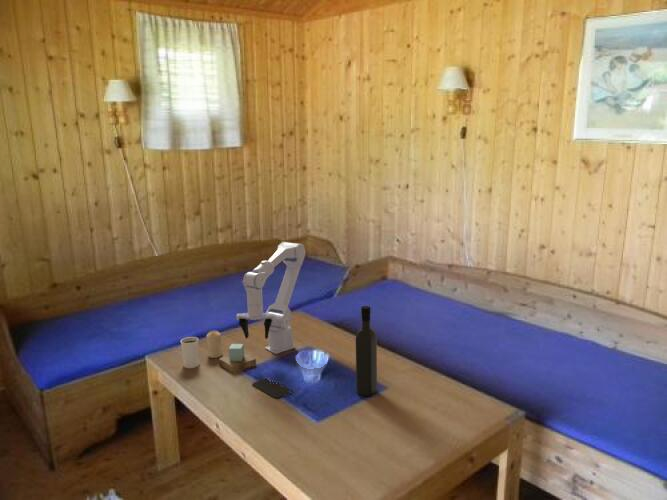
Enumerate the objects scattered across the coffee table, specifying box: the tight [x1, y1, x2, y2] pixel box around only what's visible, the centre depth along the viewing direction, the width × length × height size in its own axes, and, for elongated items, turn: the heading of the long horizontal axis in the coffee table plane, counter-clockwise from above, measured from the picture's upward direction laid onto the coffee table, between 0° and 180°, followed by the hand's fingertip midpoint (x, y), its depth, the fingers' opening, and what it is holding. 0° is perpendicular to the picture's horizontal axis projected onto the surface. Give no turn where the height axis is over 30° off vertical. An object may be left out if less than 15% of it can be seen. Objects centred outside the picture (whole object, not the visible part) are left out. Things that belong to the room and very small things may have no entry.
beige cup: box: [180, 336, 200, 369], centre depth 207 cm, size 7×7×10 cm
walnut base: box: [218, 352, 257, 374], centre depth 207 cm, size 10×10×3 cm
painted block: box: [228, 343, 245, 361], centre depth 206 cm, size 4×4×5 cm
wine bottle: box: [355, 305, 378, 398], centre depth 180 cm, size 6×6×30 cm
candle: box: [206, 329, 223, 359], centre depth 215 cm, size 6×6×10 cm
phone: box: [251, 377, 293, 400], centre depth 188 cm, size 7×1×15 cm
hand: (256, 337), depth 208 cm, fingers open, 7 cm apart
